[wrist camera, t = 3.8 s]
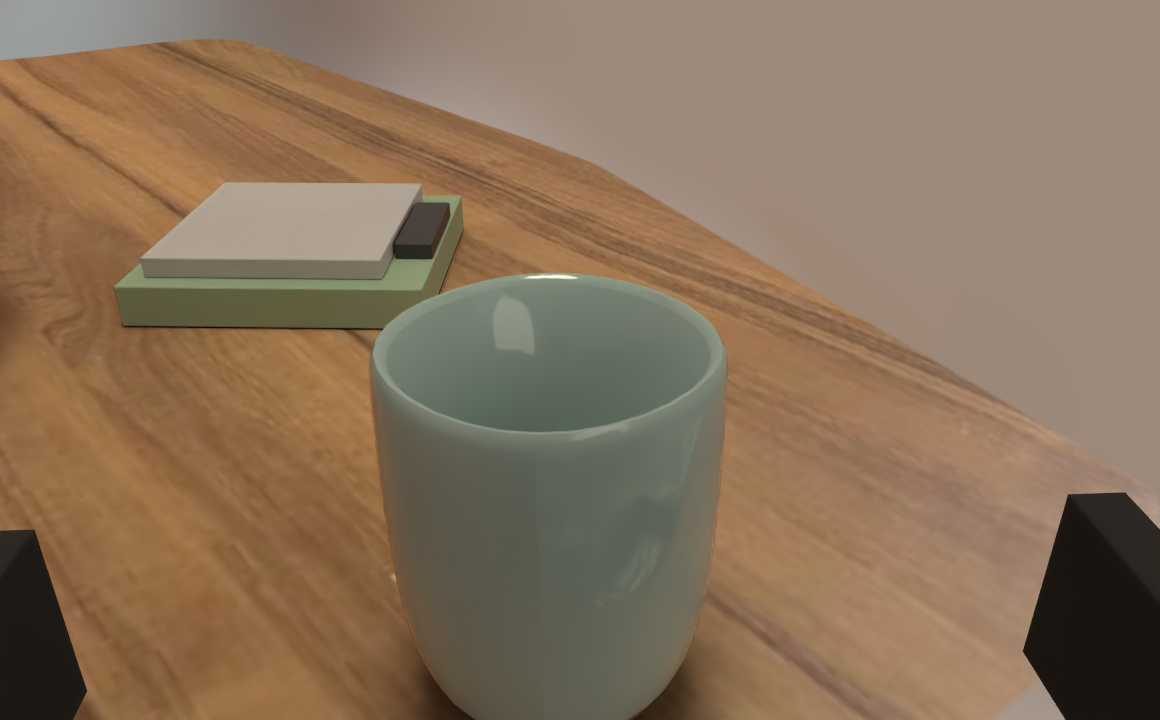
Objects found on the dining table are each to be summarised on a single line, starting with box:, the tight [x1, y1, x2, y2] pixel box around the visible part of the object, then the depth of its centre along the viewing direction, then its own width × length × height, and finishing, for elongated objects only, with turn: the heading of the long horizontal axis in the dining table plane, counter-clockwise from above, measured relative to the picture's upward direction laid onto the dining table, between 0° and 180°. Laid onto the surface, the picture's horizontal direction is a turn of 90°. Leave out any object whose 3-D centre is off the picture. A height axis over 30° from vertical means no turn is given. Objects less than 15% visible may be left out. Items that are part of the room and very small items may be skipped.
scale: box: [114, 182, 464, 328], centre depth 50 cm, size 14×13×3 cm
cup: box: [369, 273, 728, 720], centre depth 24 cm, size 8×8×10 cm
